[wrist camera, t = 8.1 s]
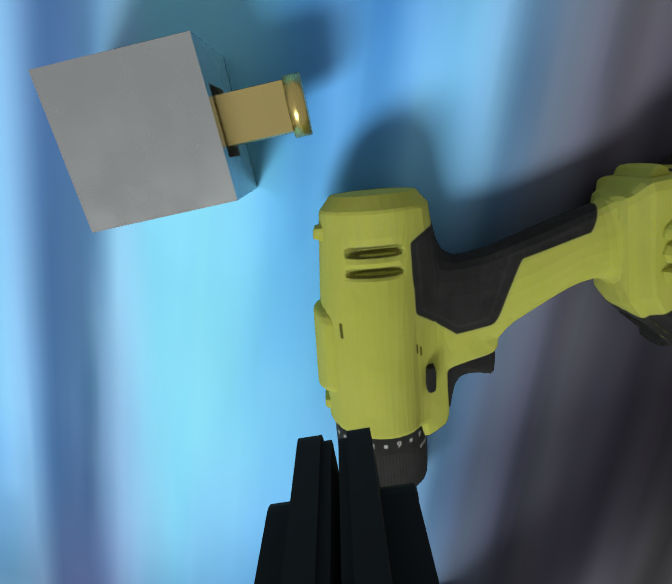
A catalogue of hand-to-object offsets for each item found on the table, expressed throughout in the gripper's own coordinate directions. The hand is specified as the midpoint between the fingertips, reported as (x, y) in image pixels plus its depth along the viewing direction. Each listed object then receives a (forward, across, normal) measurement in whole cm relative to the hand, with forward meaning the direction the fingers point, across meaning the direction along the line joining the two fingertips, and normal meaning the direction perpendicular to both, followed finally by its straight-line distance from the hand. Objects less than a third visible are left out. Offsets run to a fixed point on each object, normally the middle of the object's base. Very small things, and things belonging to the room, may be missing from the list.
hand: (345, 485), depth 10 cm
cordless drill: (+19, -10, +7) cm, 23 cm away
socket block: (+18, +7, -10) cm, 22 cm away
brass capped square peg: (+16, +5, -10) cm, 19 cm away
